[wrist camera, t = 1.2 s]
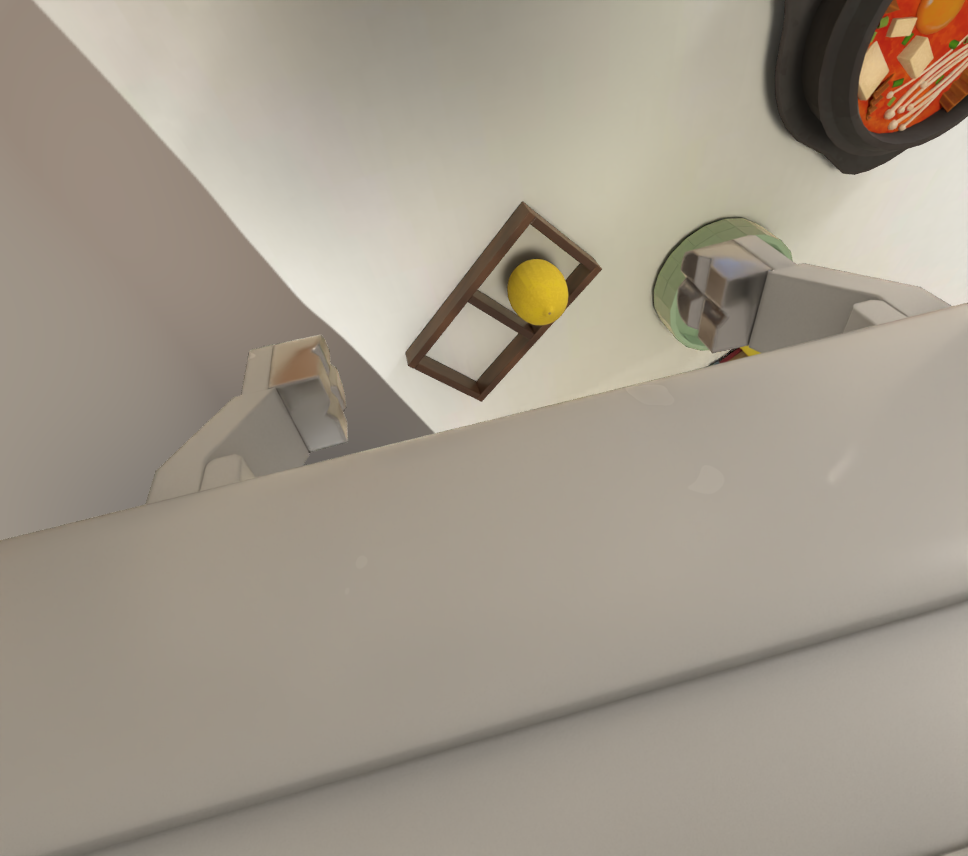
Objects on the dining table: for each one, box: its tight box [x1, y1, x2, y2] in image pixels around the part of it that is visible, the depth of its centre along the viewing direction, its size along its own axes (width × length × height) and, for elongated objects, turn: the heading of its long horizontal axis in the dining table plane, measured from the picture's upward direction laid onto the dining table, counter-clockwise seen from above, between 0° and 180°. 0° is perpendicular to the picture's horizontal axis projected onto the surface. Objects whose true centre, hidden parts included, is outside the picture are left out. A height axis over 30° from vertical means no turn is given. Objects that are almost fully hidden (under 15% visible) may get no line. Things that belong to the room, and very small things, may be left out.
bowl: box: [654, 218, 793, 351], centre depth 58 cm, size 13×13×4 cm
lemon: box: [507, 259, 568, 325], centre depth 51 cm, size 6×6×8 cm
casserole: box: [775, 0, 968, 175], centre depth 42 cm, size 25×19×8 cm
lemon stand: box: [406, 202, 602, 402], centre depth 55 cm, size 19×10×2 cm, turn 142°
